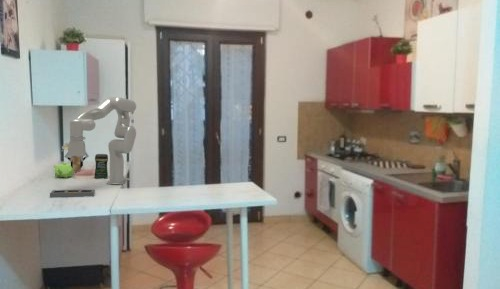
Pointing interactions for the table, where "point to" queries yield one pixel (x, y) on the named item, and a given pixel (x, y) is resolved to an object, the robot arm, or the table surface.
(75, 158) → the oak peg
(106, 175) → the coffee jar
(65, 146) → the flower vase
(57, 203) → the table surface
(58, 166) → the green lumpy round mass
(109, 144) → the robot arm
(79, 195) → the dark grey divided tray
